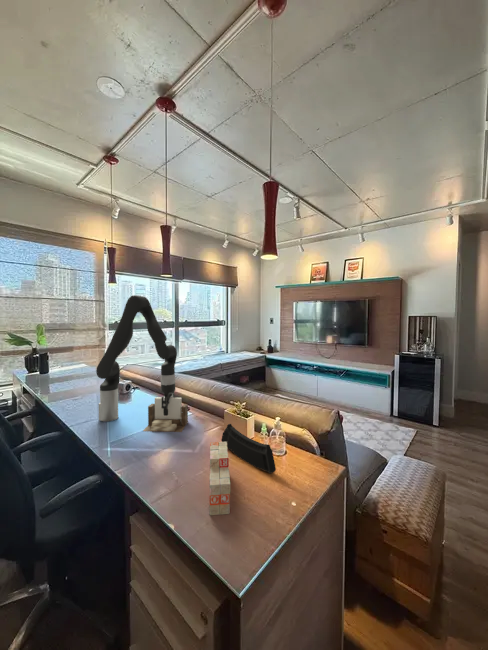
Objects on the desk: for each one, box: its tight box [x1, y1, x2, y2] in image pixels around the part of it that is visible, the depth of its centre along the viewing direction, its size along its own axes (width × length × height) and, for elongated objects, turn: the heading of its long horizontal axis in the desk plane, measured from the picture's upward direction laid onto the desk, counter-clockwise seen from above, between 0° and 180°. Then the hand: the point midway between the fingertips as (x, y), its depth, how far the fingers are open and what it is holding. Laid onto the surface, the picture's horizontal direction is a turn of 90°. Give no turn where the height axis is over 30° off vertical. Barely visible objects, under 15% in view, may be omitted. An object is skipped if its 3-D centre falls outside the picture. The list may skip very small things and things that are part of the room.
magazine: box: [220, 423, 277, 474], centre depth 110 cm, size 17×3×30 cm
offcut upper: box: [152, 420, 172, 427], centre depth 138 cm, size 9×4×2 cm, turn 88°
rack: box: [142, 403, 189, 433], centre depth 141 cm, size 20×14×11 cm
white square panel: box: [154, 396, 183, 425], centre depth 144 cm, size 14×2×14 cm, turn 88°
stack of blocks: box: [208, 441, 231, 516], centre depth 90 cm, size 21×6×12 cm, turn 6°
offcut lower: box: [150, 424, 177, 432], centre depth 138 cm, size 12×4×2 cm, turn 88°
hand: (168, 412), depth 144 cm, fingers open, 8 cm apart
